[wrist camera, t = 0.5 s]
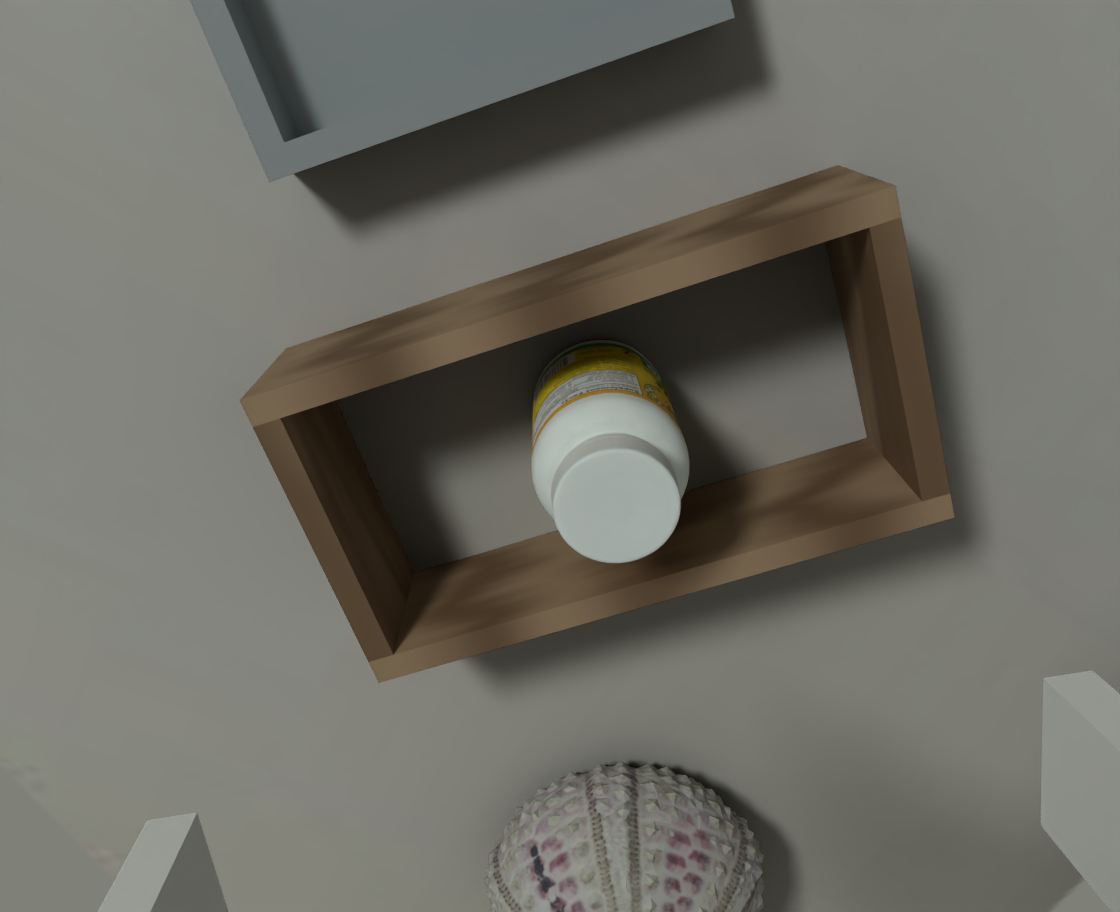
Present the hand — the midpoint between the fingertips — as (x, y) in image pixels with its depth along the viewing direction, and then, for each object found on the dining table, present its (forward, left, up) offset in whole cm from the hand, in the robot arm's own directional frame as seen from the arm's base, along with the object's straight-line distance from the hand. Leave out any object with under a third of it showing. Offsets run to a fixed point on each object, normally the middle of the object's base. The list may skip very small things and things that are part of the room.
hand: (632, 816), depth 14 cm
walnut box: (0, +2, -24) cm, 24 cm away
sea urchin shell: (+6, +25, -25) cm, 36 cm away
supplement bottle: (0, +2, -24) cm, 24 cm away
